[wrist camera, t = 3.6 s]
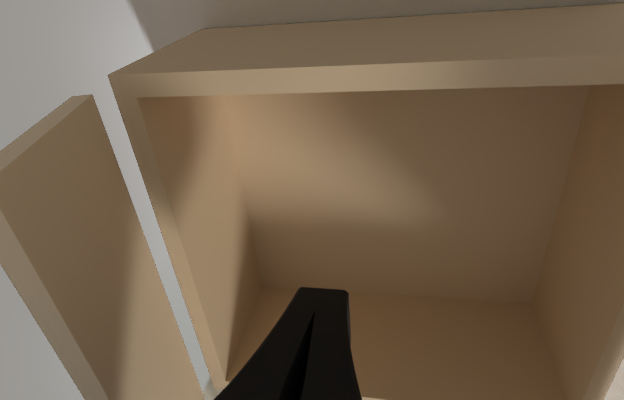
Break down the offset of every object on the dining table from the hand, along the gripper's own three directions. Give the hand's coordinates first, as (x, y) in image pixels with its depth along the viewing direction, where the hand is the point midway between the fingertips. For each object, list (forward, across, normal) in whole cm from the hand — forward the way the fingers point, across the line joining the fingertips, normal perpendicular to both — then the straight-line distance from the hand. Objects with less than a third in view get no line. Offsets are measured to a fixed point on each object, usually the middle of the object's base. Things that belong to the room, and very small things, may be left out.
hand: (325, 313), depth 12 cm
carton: (+7, -2, 0) cm, 8 cm away
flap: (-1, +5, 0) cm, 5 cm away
